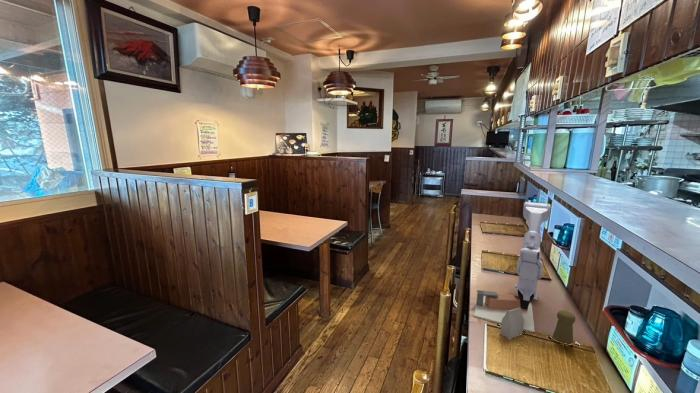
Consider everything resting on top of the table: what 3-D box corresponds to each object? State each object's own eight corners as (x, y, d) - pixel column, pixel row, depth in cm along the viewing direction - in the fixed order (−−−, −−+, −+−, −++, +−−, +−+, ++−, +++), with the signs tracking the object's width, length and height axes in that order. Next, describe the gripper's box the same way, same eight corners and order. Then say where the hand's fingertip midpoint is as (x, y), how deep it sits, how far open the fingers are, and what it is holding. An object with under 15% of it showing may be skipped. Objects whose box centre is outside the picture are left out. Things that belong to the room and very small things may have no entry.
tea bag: (522, 334, 105) (525, 310, 103) (509, 339, 102) (512, 314, 101) (513, 329, 108) (515, 305, 107) (500, 333, 106) (503, 309, 104)
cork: (576, 347, 98) (581, 318, 96) (557, 345, 100) (561, 316, 98) (567, 336, 104) (571, 308, 102) (549, 334, 105) (552, 307, 103)
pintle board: (478, 292, 135) (479, 279, 134) (531, 304, 125) (532, 290, 124) (473, 316, 116) (474, 301, 115) (534, 333, 106) (536, 317, 105)
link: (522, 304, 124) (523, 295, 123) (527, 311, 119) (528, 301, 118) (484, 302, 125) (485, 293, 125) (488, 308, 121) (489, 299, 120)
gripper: (515, 268, 121) (512, 297, 123) (515, 282, 108) (512, 314, 111) (535, 271, 117) (531, 301, 120) (537, 287, 105) (533, 320, 107)
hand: (523, 308), depth 115 cm, fingers closed
